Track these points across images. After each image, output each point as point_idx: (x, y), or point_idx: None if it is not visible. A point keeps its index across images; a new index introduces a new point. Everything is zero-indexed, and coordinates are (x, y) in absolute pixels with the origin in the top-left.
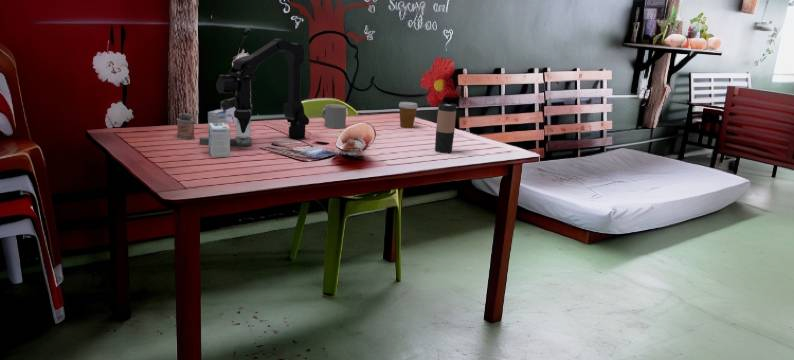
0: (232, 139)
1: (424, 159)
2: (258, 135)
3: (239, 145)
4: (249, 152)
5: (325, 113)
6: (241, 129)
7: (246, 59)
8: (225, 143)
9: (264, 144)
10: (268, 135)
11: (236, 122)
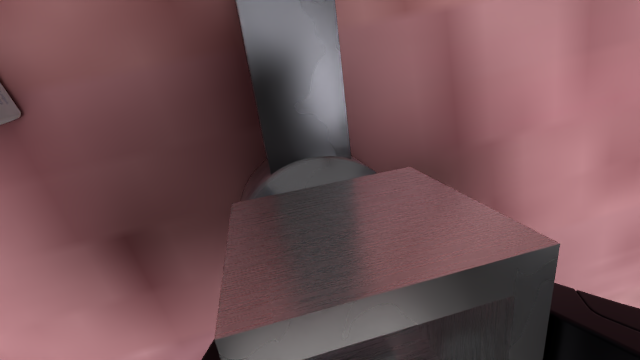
0: (278, 137)
1: None
2: (607, 227)
3: (240, 201)
4: (43, 331)
5: None
6: (215, 345)
7: None
8: None
9: None
10: (602, 280)
11: (312, 328)
